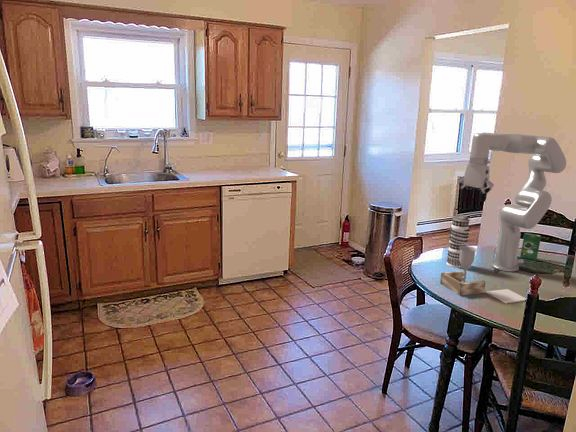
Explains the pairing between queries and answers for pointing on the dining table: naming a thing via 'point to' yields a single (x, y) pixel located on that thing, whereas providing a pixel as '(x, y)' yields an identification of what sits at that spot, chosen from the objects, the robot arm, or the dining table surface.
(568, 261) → the dining table surface
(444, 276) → the cubby
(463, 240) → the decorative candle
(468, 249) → the chalice
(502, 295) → the mat
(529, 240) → the coffee box
